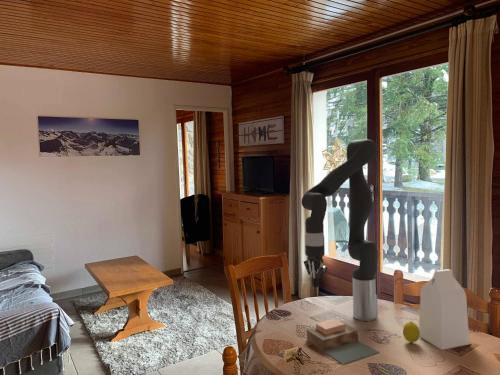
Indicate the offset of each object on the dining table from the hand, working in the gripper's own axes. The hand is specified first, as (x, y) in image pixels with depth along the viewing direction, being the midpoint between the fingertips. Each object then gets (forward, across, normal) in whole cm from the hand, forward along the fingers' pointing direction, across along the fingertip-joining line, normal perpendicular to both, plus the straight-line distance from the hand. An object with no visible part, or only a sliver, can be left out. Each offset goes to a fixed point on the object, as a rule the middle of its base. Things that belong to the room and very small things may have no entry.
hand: (315, 286), depth 150 cm
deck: (+18, -10, 0) cm, 20 cm away
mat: (+18, -20, 0) cm, 27 cm away
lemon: (+18, -26, -23) cm, 39 cm away
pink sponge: (+14, -9, 0) cm, 16 cm away
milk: (+18, -30, -35) cm, 49 cm away
